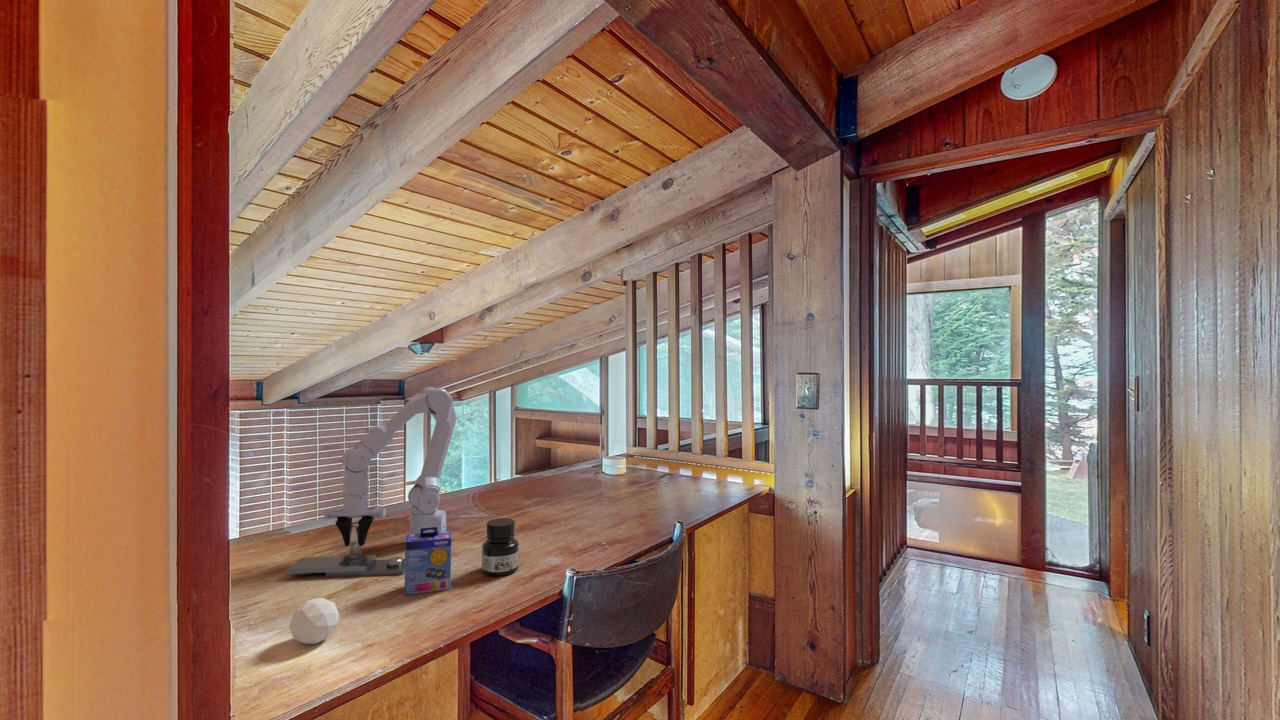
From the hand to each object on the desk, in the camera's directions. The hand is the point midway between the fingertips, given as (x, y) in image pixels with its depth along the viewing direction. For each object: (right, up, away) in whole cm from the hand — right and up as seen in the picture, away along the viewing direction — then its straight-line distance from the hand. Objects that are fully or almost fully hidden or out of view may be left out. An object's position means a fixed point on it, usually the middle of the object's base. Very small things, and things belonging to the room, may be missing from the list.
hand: (355, 544), depth 141 cm
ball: (+15, -4, -41) cm, 44 cm away
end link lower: (+8, -3, -9) cm, 13 cm away
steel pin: (0, -3, 0) cm, 3 cm away
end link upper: (0, -3, -10) cm, 11 cm away
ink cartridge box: (+27, -4, -19) cm, 33 cm away
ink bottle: (+40, -4, -8) cm, 41 cm away
